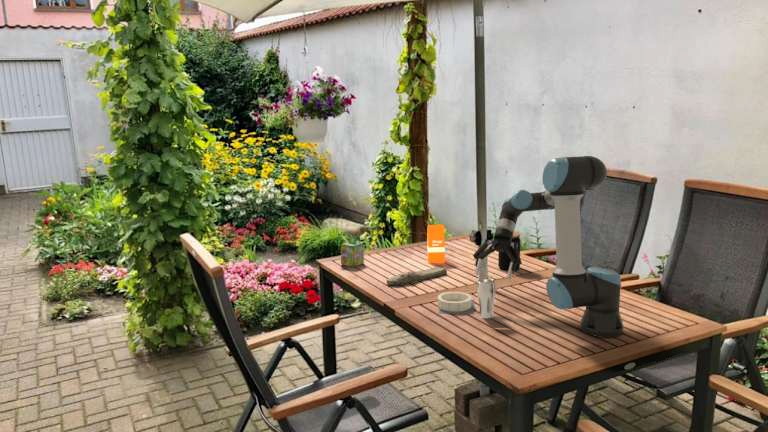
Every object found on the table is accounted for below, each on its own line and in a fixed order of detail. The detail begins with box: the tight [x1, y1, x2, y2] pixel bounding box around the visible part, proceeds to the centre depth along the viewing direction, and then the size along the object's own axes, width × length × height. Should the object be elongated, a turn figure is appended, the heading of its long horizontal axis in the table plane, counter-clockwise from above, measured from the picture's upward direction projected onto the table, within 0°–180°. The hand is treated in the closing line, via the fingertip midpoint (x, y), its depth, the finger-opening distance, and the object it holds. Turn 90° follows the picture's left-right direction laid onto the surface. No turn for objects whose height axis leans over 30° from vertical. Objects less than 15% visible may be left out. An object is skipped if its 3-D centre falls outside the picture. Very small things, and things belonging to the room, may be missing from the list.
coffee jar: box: [498, 231, 521, 272], centre depth 301 cm, size 11×11×18 cm
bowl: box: [437, 291, 473, 312], centre depth 248 cm, size 14×14×4 cm
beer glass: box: [477, 278, 496, 320], centre depth 236 cm, size 7×7×15 cm
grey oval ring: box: [438, 299, 475, 315], centre depth 249 cm, size 18×14×1 cm
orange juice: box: [426, 224, 446, 264], centre depth 319 cm, size 8×9×20 cm
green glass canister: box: [340, 236, 365, 267], centre depth 318 cm, size 9×9×15 cm
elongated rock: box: [386, 267, 448, 286], centre depth 290 cm, size 35×5×10 cm
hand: (492, 275), depth 242 cm, fingers open, 13 cm apart
